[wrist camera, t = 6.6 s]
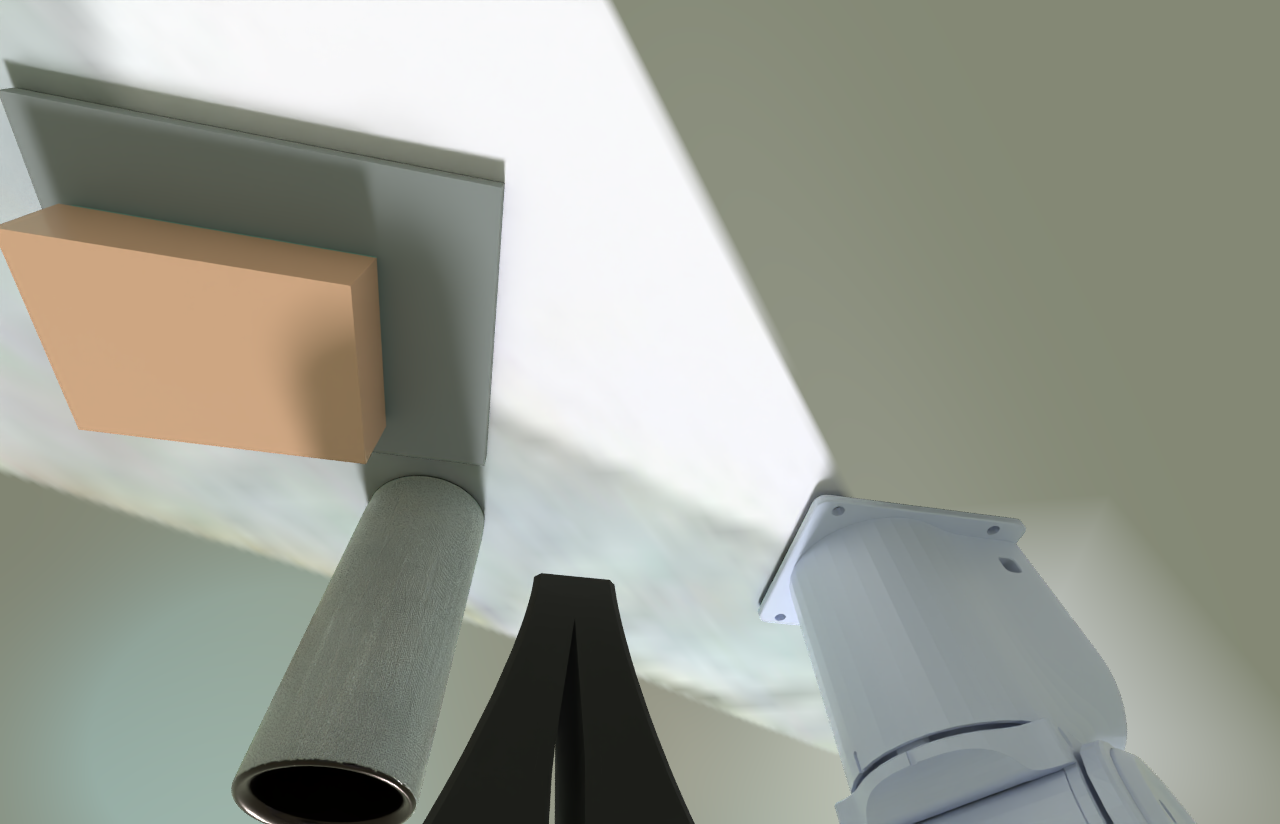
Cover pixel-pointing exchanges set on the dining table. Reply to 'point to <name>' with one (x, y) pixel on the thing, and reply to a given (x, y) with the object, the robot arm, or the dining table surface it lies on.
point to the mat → (309, 237)
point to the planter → (369, 667)
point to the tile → (204, 332)
